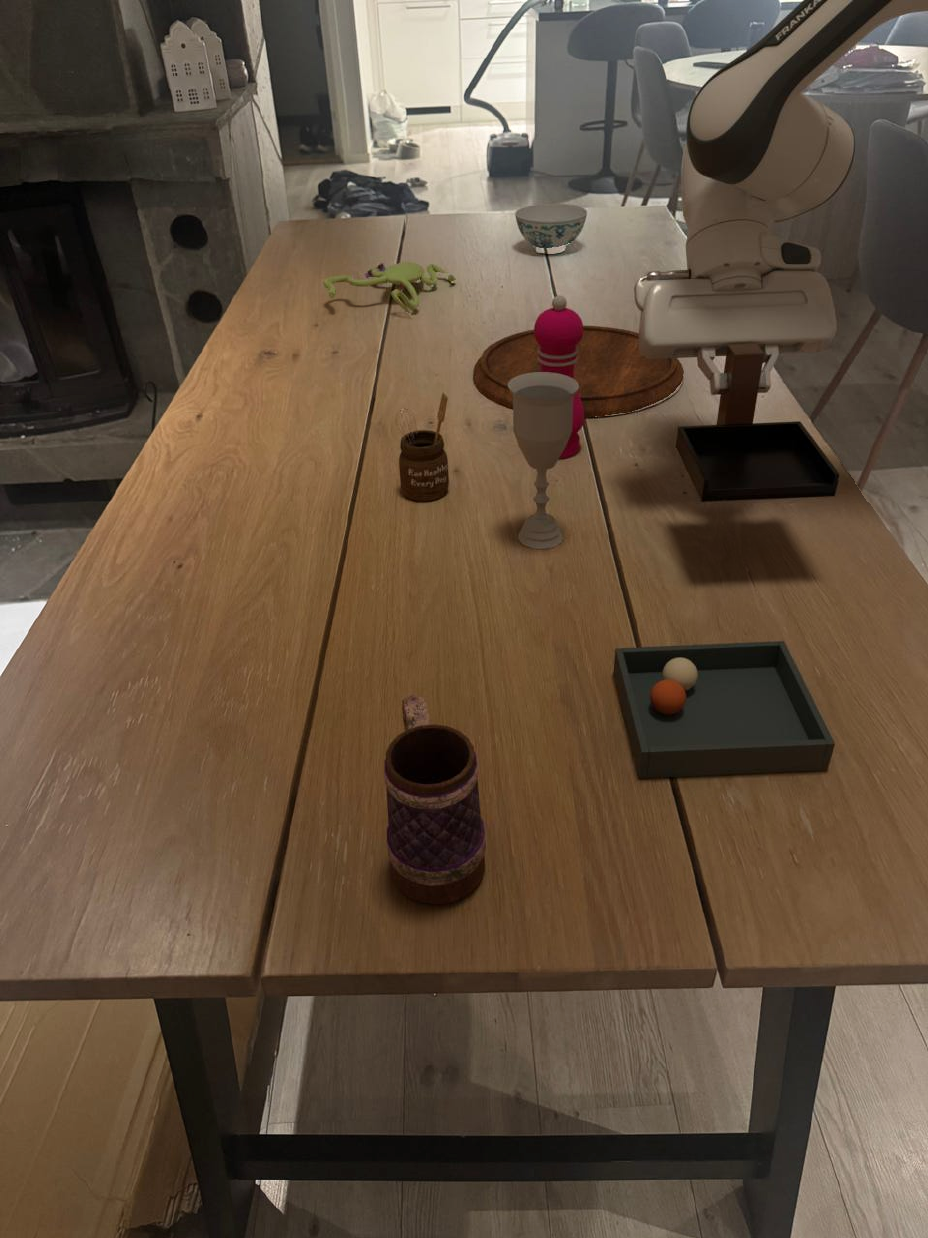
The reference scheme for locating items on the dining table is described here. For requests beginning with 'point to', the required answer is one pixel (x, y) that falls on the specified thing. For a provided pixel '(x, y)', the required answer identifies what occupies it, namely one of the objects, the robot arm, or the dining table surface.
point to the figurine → (393, 280)
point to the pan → (752, 445)
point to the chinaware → (550, 224)
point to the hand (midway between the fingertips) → (741, 391)
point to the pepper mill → (561, 355)
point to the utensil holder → (424, 461)
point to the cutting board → (585, 370)
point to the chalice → (542, 441)
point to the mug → (433, 809)
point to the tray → (722, 712)
